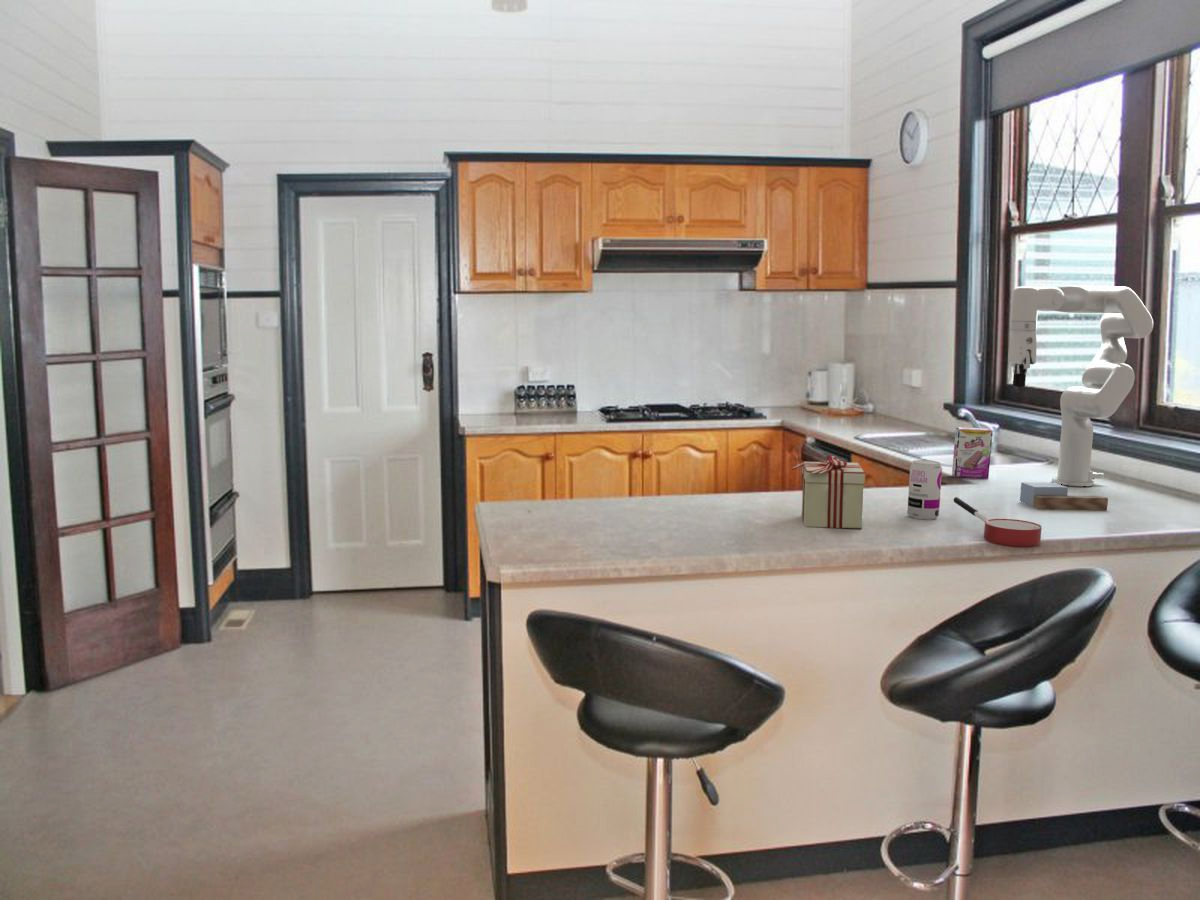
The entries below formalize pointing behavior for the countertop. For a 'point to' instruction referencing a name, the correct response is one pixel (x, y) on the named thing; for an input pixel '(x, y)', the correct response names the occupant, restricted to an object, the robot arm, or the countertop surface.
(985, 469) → the candy bar box
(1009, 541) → the frying pan
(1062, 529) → the countertop surface
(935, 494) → the supplement can
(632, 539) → the countertop surface
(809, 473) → the gift box
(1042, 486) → the block
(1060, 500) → the board
